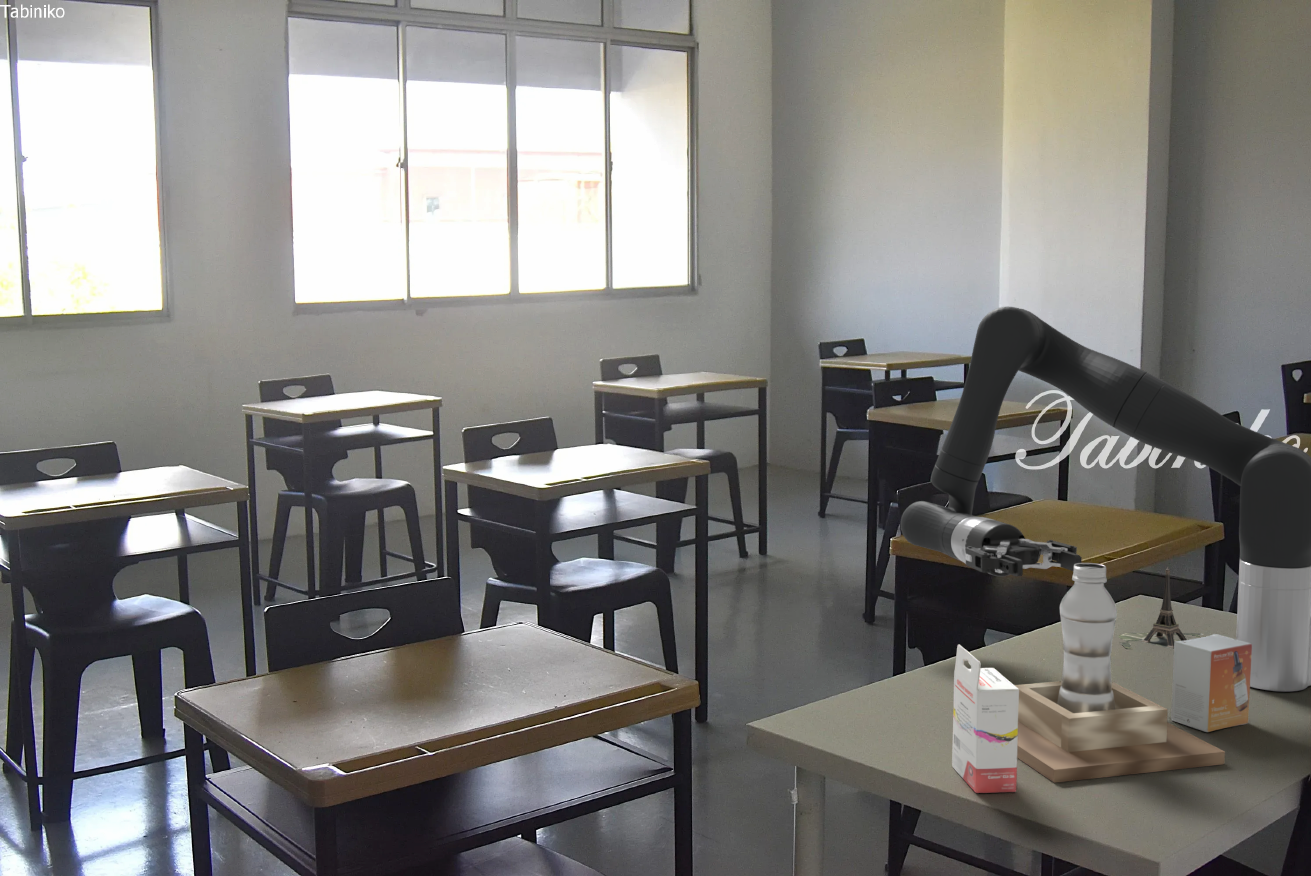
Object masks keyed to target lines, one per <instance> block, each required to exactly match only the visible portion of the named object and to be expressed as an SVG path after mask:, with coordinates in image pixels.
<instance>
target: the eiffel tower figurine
mask: <svg viewBox="0 0 1311 876" xmlns="http://www.w3.org/2000/svg"><path fill="white" fill-rule="evenodd" d="M1164 572H1165V578H1164V579H1165V581H1164V588H1163V599H1162V604H1161V608H1160V609H1159V614H1158V617H1157V620H1156V622H1154V623H1153V624H1152V629H1151V630H1150V631H1149V632H1125V633H1123V634H1120V635H1118V639H1120V640H1123V641H1122V642H1120V641H1118V643H1119V644H1120V645H1121V646H1123V648H1125V649H1129V650H1133V647H1131V646H1132V644H1133V643H1130V642H1140V643H1142V644H1143V643H1144V644H1147V645H1153V646H1157V647H1162V648H1167V649H1172V650H1174V642H1175V641H1184V640H1188V639H1187V638H1186V636H1184V635H1192V636H1196V637H1200V636H1198V635H1205V634H1204V633H1201V632H1182V631H1181V629H1180V627H1179V623H1177V622H1176V620H1175V616H1174V613H1173V611H1174V610H1173V607H1172V601H1171V582H1170V574H1171V569H1170V568H1169V567H1166V569H1165V570H1164ZM1174 636H1177V637H1178V638H1179V639H1175V637H1174Z"/></svg>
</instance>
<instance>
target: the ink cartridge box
mask: <svg viewBox="0 0 1311 876" xmlns="http://www.w3.org/2000/svg"><path fill="white" fill-rule="evenodd" d="M956 647H957V648H956V656H955V664H954V665H955V666H954V671H953V676H954V677H953V711H952V712H953V716H952V718H953V719H952V748H951V749H952V751H951V754H952V755H951V756H952V757H951V758H952V759H951V766H952V768H953V769H954V770H955V772H956V773H958V775H959V777H961V779H963V780H964V782H965V783H966V784H967V785H968V786H969V787H970V788H971V790H973V791H974V792H975V793H976V794H979V793H980V794H987V793H988V794H989V793H994V794H995V793H1016V792H1017V781H1018V777H1017V775H1018V758H1017V742H1018V705H1019V689H1018V688H1017V687H1016V686H1015V685H1016V684H1013V683H1012V682H1011V681H1009V679H1007V678H1006V677H1005V676H1004V675H1003V674H1002V673H1000V672H999V671H998V670H997V669H995V667H982V666H981V665H982V664H981V661H980V660H978V659H977V658H976V656H974V655H973V654H971V653H970V652H969V651H968V650H967V649H965V648H964V647H963V646H962V645H961V644H957V646H956ZM965 662H968V664H969V666H970V668H968V667H967V666H966V665H965Z"/></svg>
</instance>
